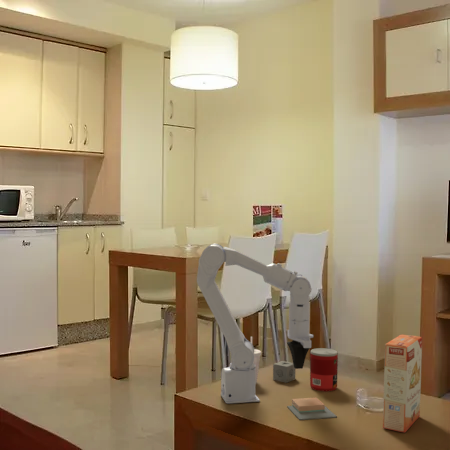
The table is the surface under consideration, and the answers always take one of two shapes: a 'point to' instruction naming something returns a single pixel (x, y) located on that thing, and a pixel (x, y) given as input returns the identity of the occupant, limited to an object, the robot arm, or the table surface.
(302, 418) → the mat
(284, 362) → the dice cube
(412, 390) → the cracker box
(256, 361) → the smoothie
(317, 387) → the canned food
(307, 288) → the robot arm
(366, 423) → the table surface
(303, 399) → the tile
